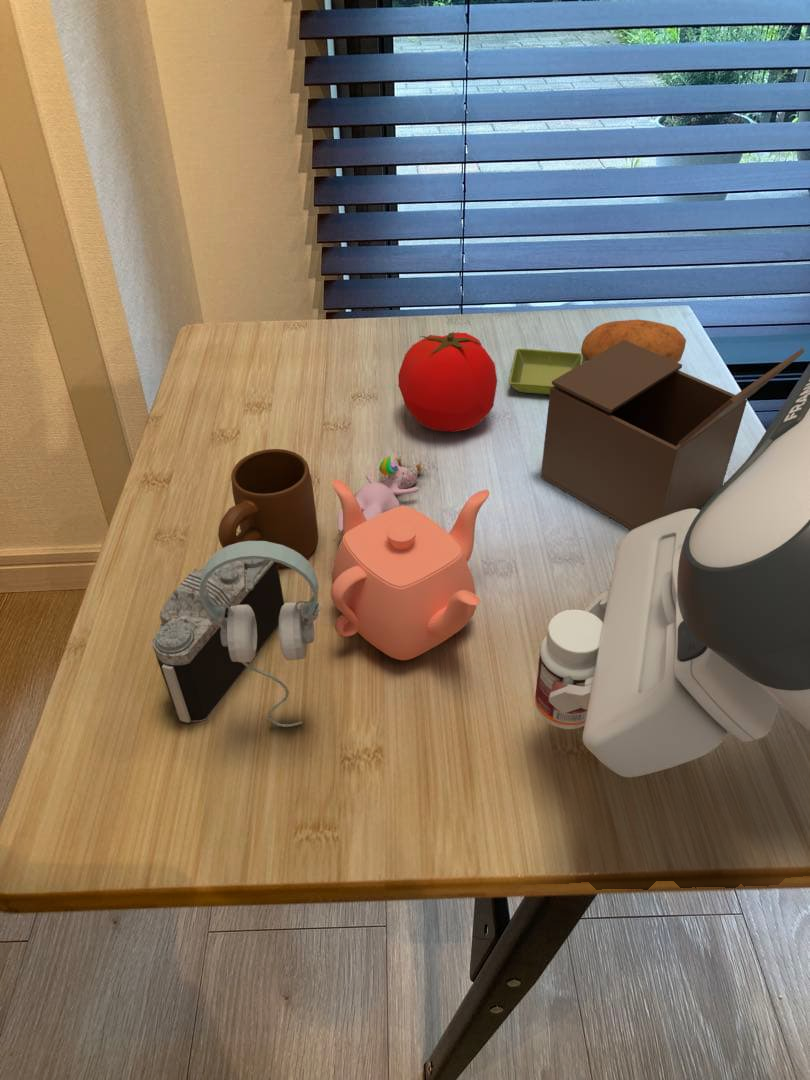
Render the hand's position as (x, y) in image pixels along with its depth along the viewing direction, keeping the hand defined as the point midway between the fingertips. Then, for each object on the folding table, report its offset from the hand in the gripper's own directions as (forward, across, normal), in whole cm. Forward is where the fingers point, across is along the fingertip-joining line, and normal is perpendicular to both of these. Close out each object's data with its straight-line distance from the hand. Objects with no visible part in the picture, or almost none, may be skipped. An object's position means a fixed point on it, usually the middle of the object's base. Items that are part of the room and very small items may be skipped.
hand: (562, 666), depth 61 cm
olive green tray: (+14, -54, 0) cm, 56 cm away
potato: (+7, -60, +7) cm, 61 cm away
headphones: (+22, +4, -8) cm, 24 cm away
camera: (+28, -1, -14) cm, 32 cm away
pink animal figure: (+23, -24, -9) cm, 34 cm away
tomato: (+21, -42, -7) cm, 48 cm away
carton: (+5, -36, +8) cm, 37 cm away
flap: (-11, -31, +3) cm, 33 cm away
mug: (+29, -14, -15) cm, 35 cm away
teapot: (+17, -11, -3) cm, 21 cm away
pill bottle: (+3, 0, +4) cm, 5 cm away
